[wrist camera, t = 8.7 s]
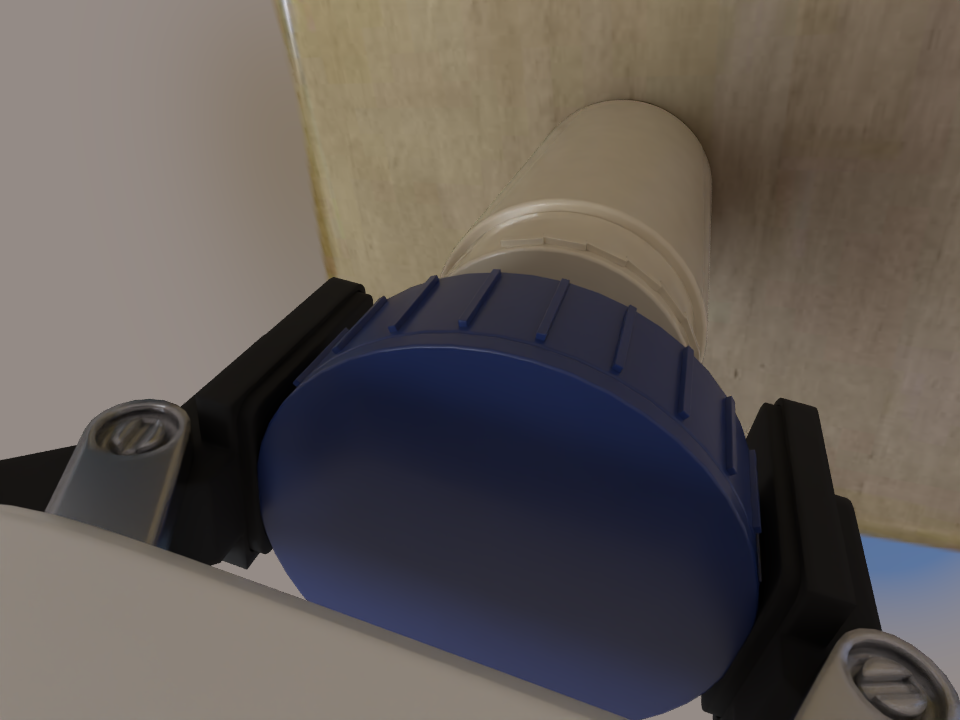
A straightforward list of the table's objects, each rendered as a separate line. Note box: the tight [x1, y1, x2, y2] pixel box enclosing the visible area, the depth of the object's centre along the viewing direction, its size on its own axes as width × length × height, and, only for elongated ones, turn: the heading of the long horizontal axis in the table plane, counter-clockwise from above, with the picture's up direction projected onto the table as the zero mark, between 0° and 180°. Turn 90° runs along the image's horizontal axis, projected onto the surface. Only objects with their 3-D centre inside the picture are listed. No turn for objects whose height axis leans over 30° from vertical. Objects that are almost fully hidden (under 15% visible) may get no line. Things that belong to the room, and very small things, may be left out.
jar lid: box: [257, 269, 762, 720], centre depth 10 cm, size 7×7×2 cm
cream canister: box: [440, 100, 712, 364], centre depth 17 cm, size 6×6×11 cm
